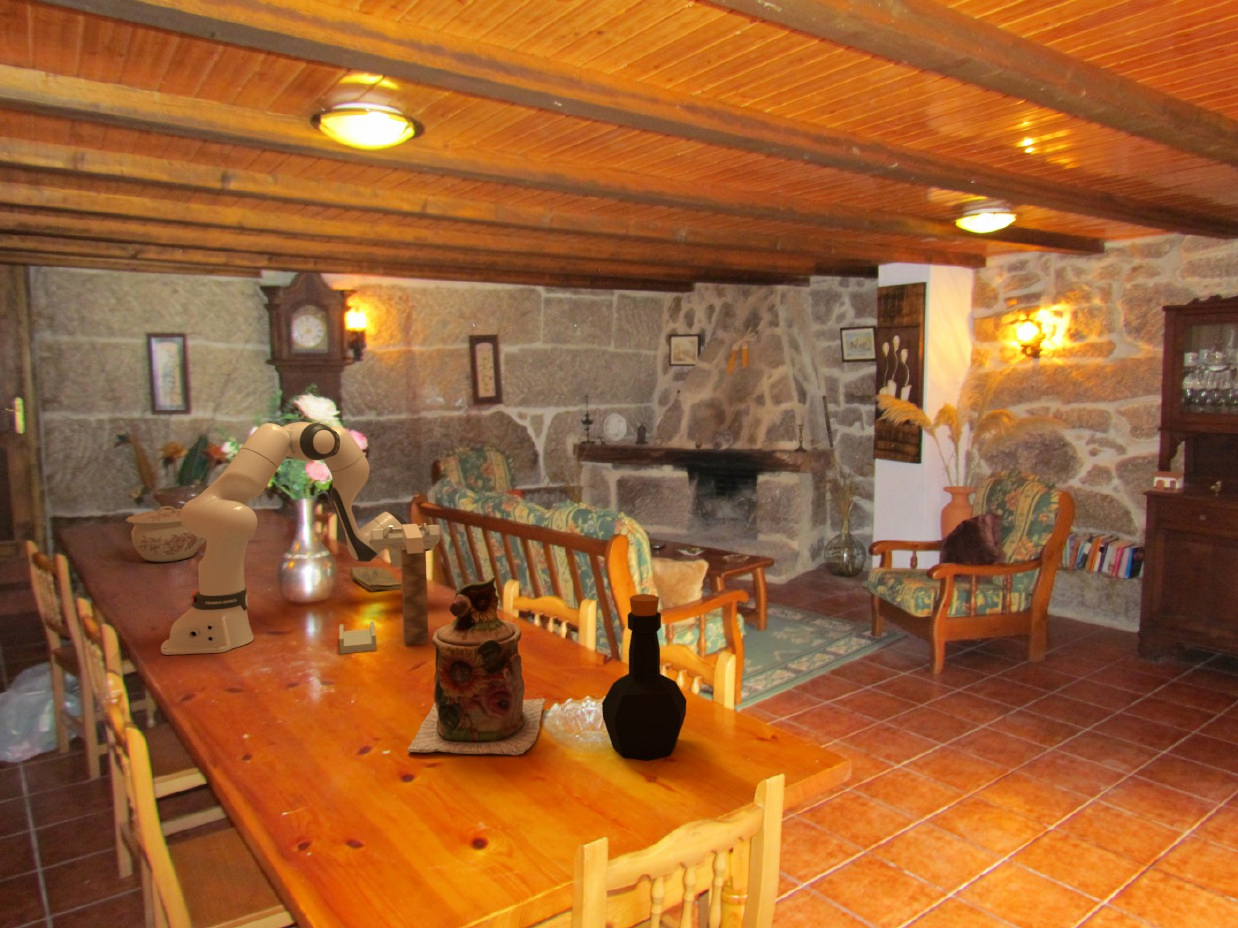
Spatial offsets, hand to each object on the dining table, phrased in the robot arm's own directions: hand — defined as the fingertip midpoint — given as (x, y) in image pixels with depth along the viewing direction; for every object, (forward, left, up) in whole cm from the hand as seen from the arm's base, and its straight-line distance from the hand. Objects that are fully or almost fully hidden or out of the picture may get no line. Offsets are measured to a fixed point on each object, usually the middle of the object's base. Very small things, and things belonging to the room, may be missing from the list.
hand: (407, 526), depth 251 cm
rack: (-15, -20, -27) cm, 37 cm away
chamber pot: (-82, +111, -28) cm, 141 cm away
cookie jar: (+8, -84, -28) cm, 89 cm away
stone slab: (-9, +49, -28) cm, 57 cm away
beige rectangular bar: (0, -20, -1) cm, 20 cm away
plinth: (0, -22, -27) cm, 35 cm away
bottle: (+37, -102, -28) cm, 112 cm away
